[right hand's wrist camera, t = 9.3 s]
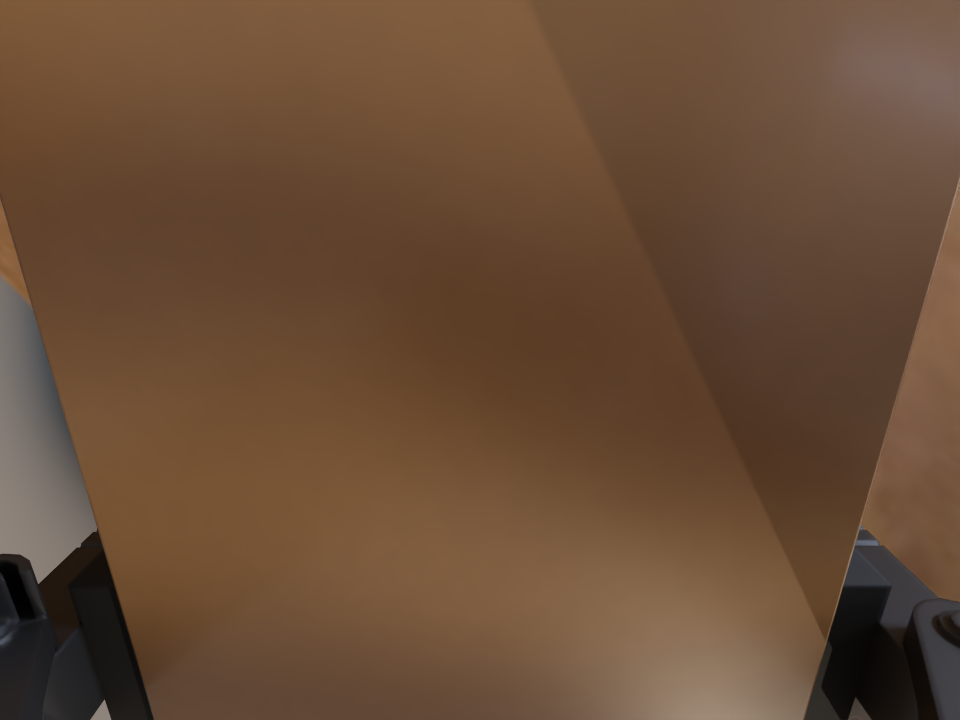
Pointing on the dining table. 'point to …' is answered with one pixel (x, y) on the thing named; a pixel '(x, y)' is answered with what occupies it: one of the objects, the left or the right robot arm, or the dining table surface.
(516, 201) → the wide beam
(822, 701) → the right robot arm
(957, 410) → the dining table surface
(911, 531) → the dining table surface
